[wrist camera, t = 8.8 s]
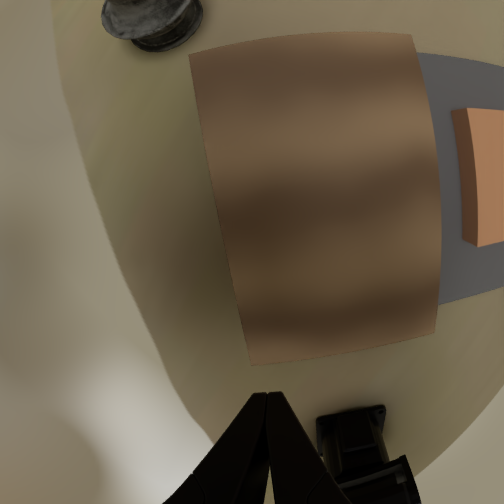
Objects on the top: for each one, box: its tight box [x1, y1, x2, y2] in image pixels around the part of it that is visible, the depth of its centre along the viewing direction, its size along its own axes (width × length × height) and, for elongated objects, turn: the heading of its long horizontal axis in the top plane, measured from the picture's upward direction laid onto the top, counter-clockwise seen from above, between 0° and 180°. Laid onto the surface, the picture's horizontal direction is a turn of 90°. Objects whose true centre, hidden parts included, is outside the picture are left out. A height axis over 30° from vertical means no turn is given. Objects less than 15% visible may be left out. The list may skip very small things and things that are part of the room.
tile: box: [451, 108, 504, 247], centre depth 15 cm, size 9×6×2 cm, turn 11°
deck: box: [189, 32, 442, 366], centre depth 16 cm, size 18×12×4 cm, turn 10°
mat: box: [417, 53, 504, 305], centre depth 16 cm, size 18×12×1 cm, turn 10°
